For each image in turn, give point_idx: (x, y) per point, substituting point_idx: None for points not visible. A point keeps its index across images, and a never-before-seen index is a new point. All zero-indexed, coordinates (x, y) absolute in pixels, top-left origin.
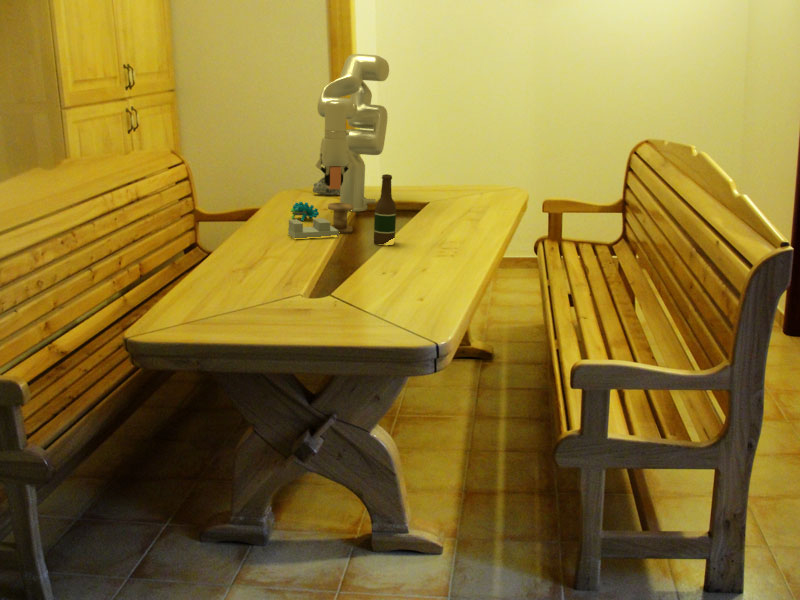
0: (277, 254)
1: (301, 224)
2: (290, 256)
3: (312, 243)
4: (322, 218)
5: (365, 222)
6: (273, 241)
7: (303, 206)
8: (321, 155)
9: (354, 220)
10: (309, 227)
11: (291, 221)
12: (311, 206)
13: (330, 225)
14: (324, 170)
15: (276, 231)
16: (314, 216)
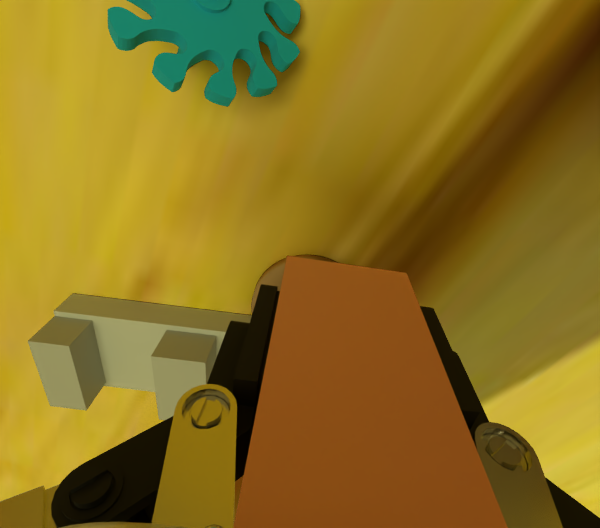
0: (25, 456)
1: (82, 407)
2: (60, 475)
3: (144, 407)
4: (195, 365)
5: (529, 197)
6: (12, 354)
7: (160, 37)
8: None
9: (509, 130)
10: (148, 332)
11: (39, 369)
12: (211, 99)
13: (280, 268)
14: (148, 515)
15: (23, 229)
16: (280, 20)
